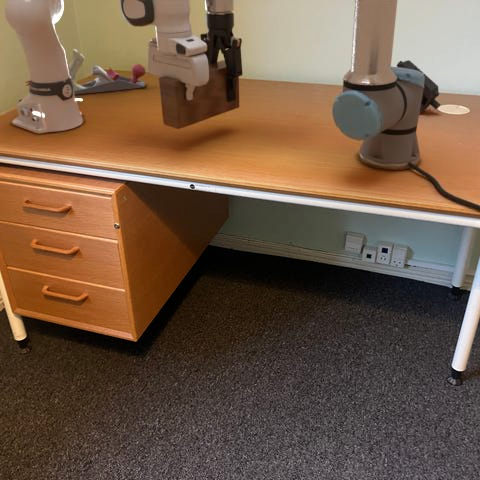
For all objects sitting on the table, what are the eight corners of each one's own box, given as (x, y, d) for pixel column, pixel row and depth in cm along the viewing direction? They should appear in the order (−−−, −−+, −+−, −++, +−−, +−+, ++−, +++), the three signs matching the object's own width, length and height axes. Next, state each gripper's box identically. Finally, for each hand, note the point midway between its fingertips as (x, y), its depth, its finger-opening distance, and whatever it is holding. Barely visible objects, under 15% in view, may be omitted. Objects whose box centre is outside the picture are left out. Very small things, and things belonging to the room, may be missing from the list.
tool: (378, 91, 179) (405, 54, 169) (421, 128, 175) (451, 93, 164) (370, 95, 176) (396, 58, 165) (413, 134, 171) (443, 98, 161)
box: (224, 103, 159) (222, 60, 152) (239, 107, 155) (238, 63, 149) (163, 124, 144) (158, 77, 137) (178, 129, 140) (174, 81, 134)
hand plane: (62, 90, 197) (53, 48, 189) (145, 82, 205) (140, 41, 197) (62, 96, 191) (54, 53, 184) (148, 87, 199) (143, 45, 191)
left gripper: (138, 39, 137) (144, 92, 145) (192, 49, 126) (196, 107, 133) (157, 35, 141) (162, 87, 149) (211, 45, 129) (214, 101, 137)
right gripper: (184, 10, 144) (190, 95, 156) (236, 17, 133) (238, 108, 145) (204, 7, 149) (208, 89, 161) (256, 13, 138) (256, 101, 150)
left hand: (179, 96), depth 141 cm, fingers closed on box, 6 cm apart
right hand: (222, 98), depth 153 cm, fingers closed on box, 6 cm apart
